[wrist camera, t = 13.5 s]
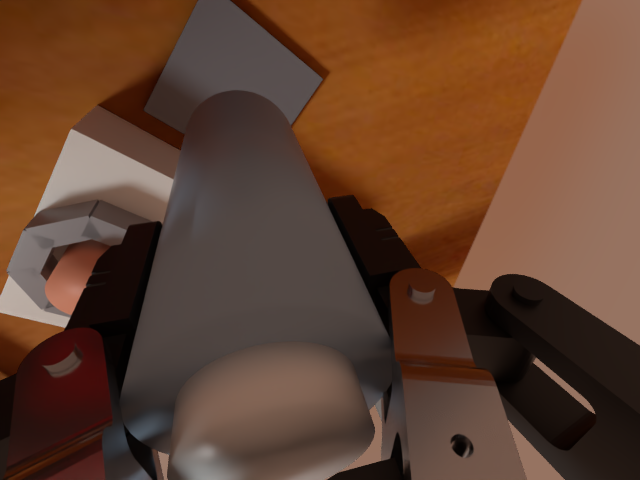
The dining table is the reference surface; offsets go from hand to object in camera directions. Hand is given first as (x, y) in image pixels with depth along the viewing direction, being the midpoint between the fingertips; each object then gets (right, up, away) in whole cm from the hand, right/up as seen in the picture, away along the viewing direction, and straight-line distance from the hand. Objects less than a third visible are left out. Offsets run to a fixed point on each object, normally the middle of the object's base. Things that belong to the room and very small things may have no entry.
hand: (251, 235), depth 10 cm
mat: (-4, +10, +14) cm, 18 cm away
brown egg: (-13, -1, +14) cm, 19 cm away
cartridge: (-2, +4, +5) cm, 7 cm away
